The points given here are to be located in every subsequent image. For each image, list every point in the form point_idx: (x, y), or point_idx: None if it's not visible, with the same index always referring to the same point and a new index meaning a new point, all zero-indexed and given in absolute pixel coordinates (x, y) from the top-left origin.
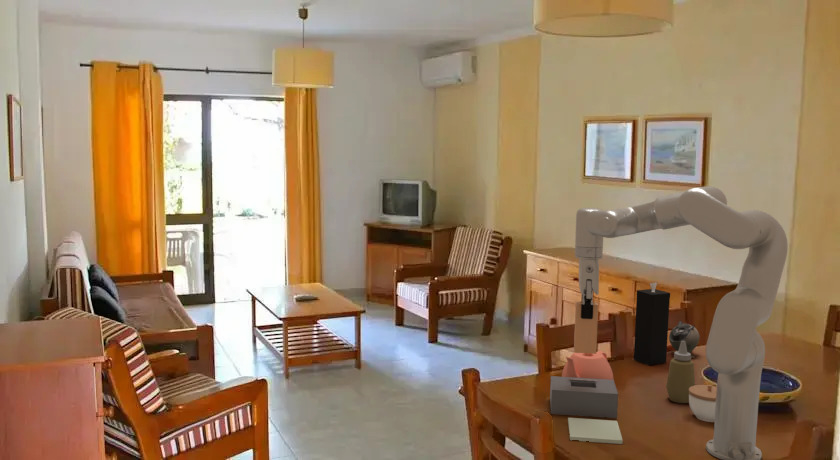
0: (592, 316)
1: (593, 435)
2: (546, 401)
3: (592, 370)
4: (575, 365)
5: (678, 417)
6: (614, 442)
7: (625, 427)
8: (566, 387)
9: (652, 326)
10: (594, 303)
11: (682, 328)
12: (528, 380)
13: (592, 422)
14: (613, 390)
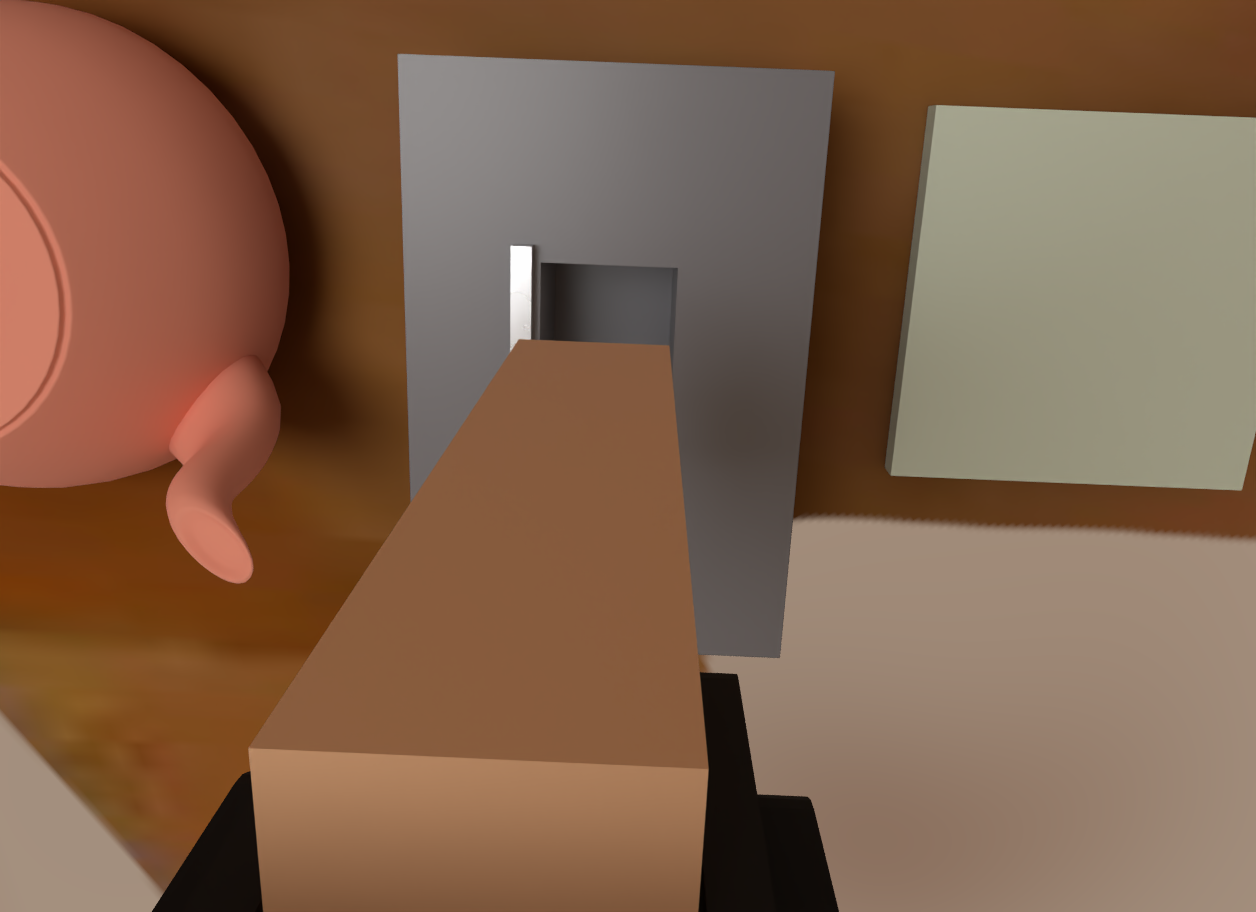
0: (741, 704)
1: (1227, 329)
2: None
3: (178, 250)
4: (121, 419)
5: None
6: None
7: (983, 43)
8: (705, 536)
9: None
10: (460, 869)
11: None
12: (78, 684)
13: (978, 308)
14: (735, 105)
